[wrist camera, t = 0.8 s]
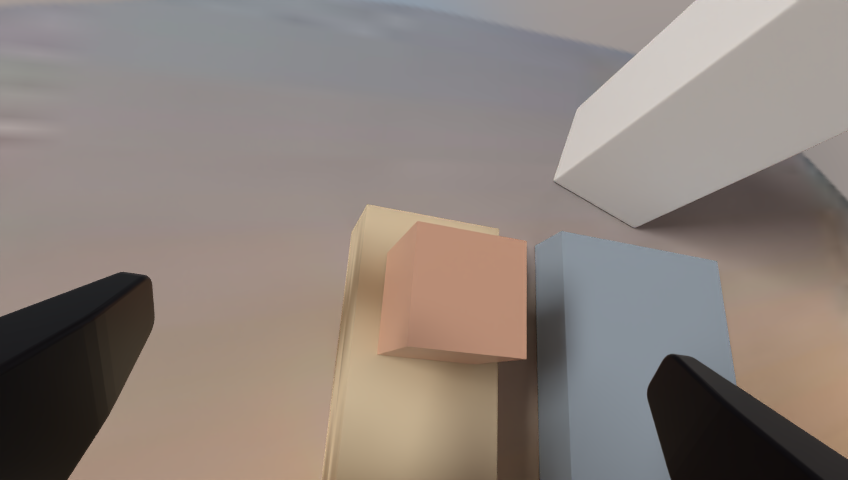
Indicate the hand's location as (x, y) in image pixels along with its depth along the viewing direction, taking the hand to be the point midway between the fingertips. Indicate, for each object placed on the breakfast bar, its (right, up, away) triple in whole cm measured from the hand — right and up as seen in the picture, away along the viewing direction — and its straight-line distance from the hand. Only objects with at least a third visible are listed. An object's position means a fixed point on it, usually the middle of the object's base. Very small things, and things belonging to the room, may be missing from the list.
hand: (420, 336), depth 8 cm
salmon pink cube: (0, -1, +11) cm, 11 cm away
